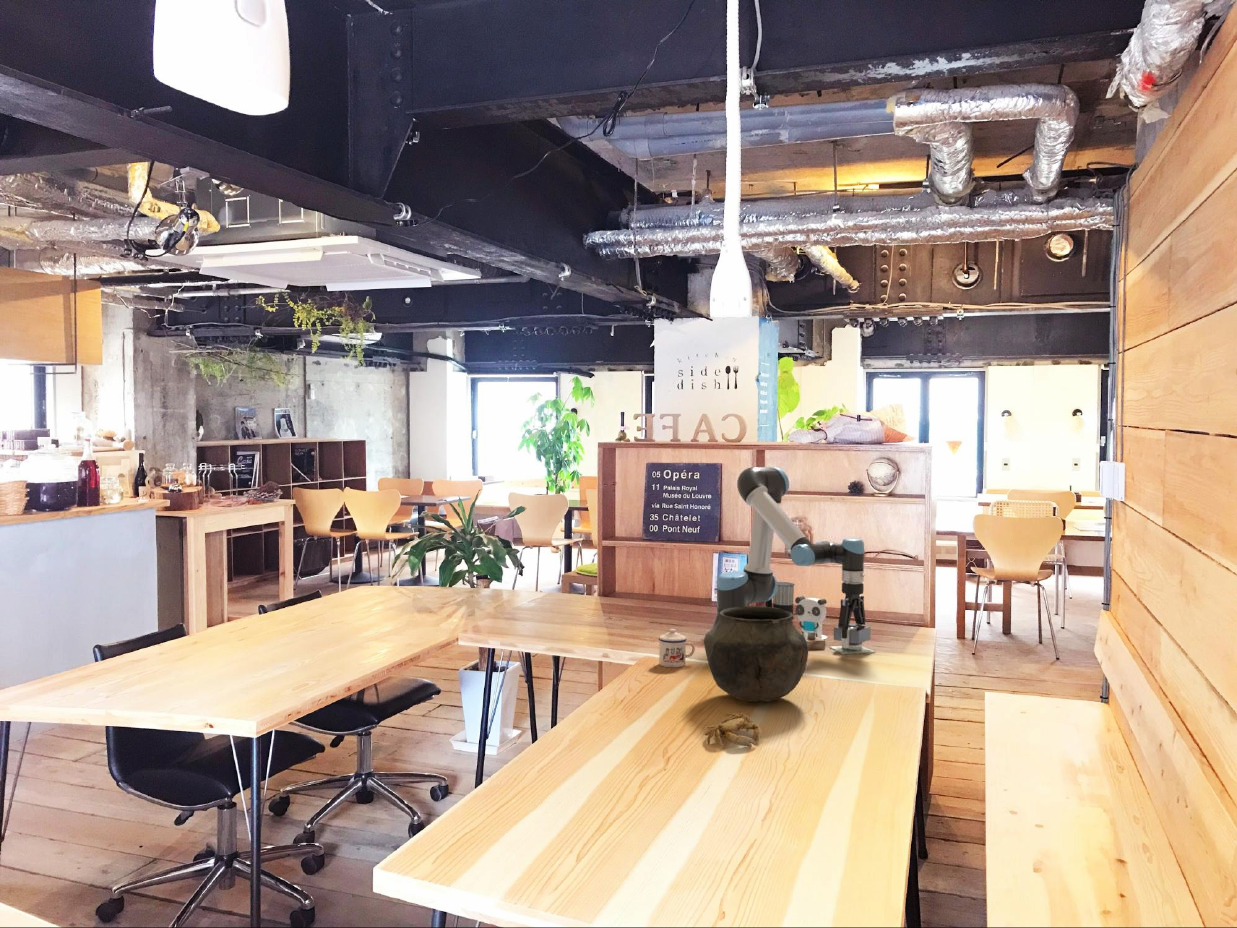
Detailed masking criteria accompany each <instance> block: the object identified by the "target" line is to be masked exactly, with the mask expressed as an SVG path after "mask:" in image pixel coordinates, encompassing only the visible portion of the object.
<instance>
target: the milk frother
mask: <svg viewBox="0 0 1237 928" xmlns="http://www.w3.org/2000/svg"><path fill="white" fill-rule="evenodd" d="M777 585H778V586H777V592H776V594H775V596H774V597H773V598H772V599H770V600H768V601H765V602H764V603H765V607H772V608H778V609H782V610H785V611H788V612H790V613H792V614H793V615H794V600H795V599H794V596H795V595H794V590H795V583H793V582H787V581H777ZM793 618H794V619H795V617H794V616H793ZM793 618H792V620H794V619H793Z"/></svg>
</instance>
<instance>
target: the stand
mask: <svg viewBox="0 0 1237 928" xmlns="http://www.w3.org/2000/svg"><path fill="white" fill-rule="evenodd" d="M805 639H806V642H807V646H808V651H809V650H825V649H826V639H825V640H823V639H820V638H818V637H816V632H814V631H808V637H805Z"/></svg>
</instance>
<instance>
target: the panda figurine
mask: <svg viewBox="0 0 1237 928" xmlns="http://www.w3.org/2000/svg"><path fill="white" fill-rule="evenodd" d="M794 602H795V604H797V605H796V607H795V614H796V616H797V618H798V620H799V626H800V628H801V634H802V635H804V637H808V631H814V632H816V637H818V638H820V639H823V640H825V641H826V640H827V639H828V636H826V635H824V634H823V621H824V620H825V619H826V616H827V608H826V605H827V602H828V601H827V599H826V598H822V599H820V598H816V597H809V598H805V596H803V595H802V596H797V597H796V598H795V599H794Z"/></svg>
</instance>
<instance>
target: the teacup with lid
mask: <svg viewBox="0 0 1237 928" xmlns="http://www.w3.org/2000/svg"><path fill="white" fill-rule="evenodd" d="M658 641H659V648H658V649H659V652H658V655H659V656H658V657H659V659H658V661H659V662H658V663H659V665H660V666H662V667H664V668H674V669H675V668H682V667H685V665H686V658H687V659H688V658H691V657H692V656H693V655H694V654H695V651H696V646H695V644H694V643H693V642H691V641H690V642H689V641H687V637H686V636H684V635H682V634H680V633H679V632H677V629H675V628H670V629H669V631H668V632H666V633H665V634H661V635H660V636H659V637H658ZM687 645H690V646H691V647H692V650H691V652H690V653H689V654H686V647H687Z"/></svg>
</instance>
